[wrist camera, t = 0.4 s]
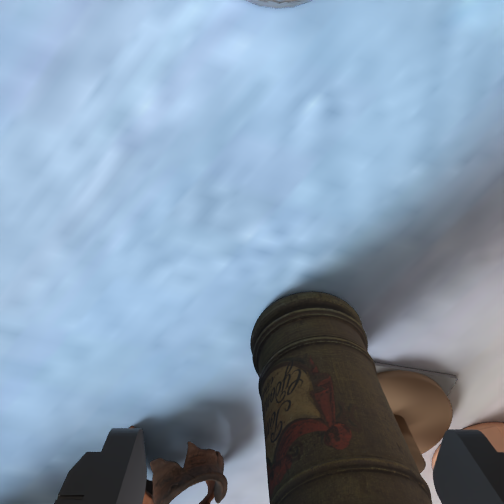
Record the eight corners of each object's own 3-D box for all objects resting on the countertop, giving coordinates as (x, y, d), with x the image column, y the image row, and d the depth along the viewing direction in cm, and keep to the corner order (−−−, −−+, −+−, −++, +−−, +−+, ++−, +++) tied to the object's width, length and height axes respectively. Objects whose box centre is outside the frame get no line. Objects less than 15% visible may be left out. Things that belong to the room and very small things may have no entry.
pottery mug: (134, 397, 33) (166, 472, 27) (213, 400, 39) (255, 462, 33) (80, 502, 35) (99, 597, 29) (165, 489, 41) (196, 565, 35)
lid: (351, 361, 31) (369, 409, 26) (468, 380, 32) (504, 429, 28) (313, 447, 36) (323, 500, 31) (417, 461, 37) (441, 514, 32)
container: (373, 297, 29) (545, 578, 13) (342, 382, 33) (443, 683, 16) (261, 281, 28) (290, 562, 12) (242, 370, 32) (244, 677, 15)
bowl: (458, 415, 35) (483, 454, 31) (548, 429, 36) (582, 468, 32) (416, 480, 39) (434, 521, 35) (498, 490, 40) (524, 531, 36)
